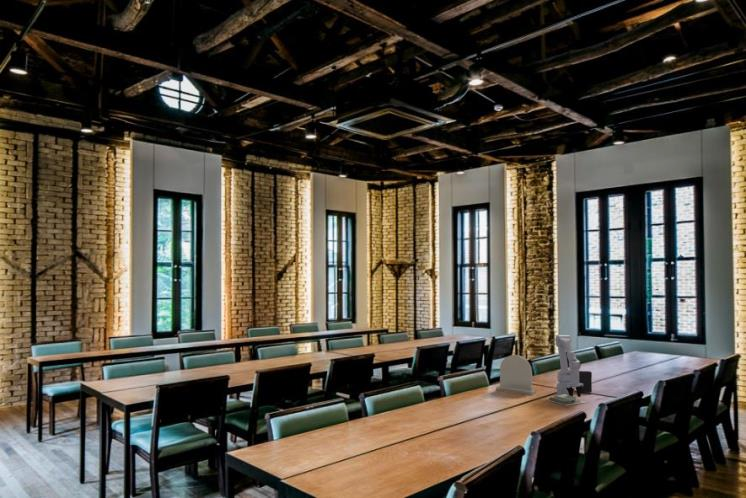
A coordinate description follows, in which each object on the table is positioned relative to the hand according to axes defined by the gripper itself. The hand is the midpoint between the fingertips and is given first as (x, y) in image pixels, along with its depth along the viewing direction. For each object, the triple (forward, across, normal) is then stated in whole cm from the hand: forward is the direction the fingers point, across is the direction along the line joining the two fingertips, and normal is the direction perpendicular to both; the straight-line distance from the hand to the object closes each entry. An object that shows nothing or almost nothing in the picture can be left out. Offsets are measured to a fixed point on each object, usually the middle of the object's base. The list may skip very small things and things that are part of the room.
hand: (575, 397), depth 364 cm
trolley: (+2, -10, 0) cm, 10 cm away
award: (+3, -18, +40) cm, 44 cm away
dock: (+2, -8, 0) cm, 8 cm away
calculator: (+3, +32, +20) cm, 38 cm away
